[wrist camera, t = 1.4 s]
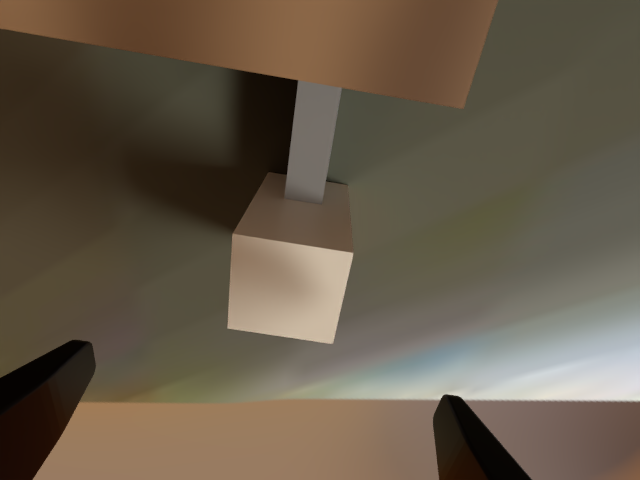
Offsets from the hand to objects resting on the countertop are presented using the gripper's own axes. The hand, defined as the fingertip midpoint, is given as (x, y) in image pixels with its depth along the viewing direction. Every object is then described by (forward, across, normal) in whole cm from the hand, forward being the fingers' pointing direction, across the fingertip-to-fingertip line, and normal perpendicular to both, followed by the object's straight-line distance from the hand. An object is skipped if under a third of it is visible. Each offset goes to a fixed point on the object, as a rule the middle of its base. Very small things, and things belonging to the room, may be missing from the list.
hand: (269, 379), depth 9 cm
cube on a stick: (+11, 0, -6) cm, 12 cm away
